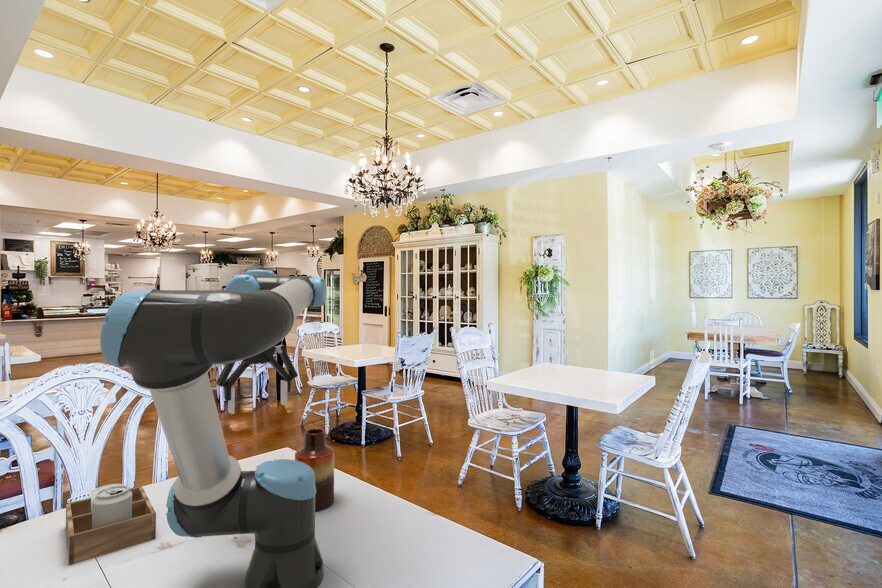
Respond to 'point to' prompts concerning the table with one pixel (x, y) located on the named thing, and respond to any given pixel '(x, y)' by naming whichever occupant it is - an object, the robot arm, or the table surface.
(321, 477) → the vase
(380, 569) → the table surface
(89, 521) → the rack
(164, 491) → the table surface
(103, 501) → the can
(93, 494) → the pale curved piece
